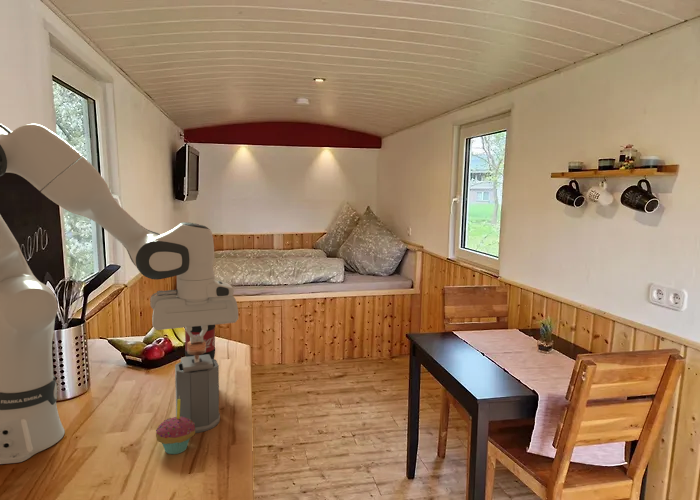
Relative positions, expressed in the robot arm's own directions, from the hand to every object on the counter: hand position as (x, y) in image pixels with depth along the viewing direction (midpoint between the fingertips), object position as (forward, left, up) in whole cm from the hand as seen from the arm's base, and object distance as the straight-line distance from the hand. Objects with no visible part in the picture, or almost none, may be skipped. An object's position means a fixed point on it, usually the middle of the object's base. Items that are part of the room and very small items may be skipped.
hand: (196, 342), depth 116 cm
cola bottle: (+3, +18, -21) cm, 28 cm away
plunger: (0, 0, -19) cm, 19 cm away
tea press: (0, +1, -21) cm, 21 cm away
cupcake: (-6, -11, -21) cm, 25 cm away
